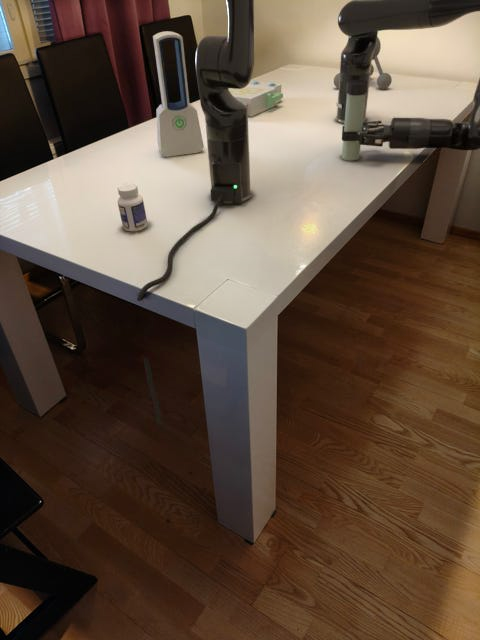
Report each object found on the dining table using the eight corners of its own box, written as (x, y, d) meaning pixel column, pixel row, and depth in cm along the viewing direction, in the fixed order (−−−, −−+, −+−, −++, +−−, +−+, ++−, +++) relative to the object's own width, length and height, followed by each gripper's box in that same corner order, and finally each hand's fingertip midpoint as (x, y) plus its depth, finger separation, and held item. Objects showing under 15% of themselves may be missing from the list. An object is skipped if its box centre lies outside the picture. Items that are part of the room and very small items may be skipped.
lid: (359, 95, 119) (360, 85, 118) (342, 93, 122) (342, 82, 120) (371, 91, 122) (372, 81, 120) (353, 88, 125) (354, 78, 123)
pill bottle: (149, 220, 107) (142, 181, 102) (146, 231, 103) (138, 191, 98) (125, 221, 107) (116, 182, 102) (121, 232, 103) (112, 193, 98)
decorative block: (245, 78, 184) (291, 83, 175) (246, 96, 188) (291, 102, 178) (203, 94, 168) (250, 100, 159) (204, 113, 172) (251, 121, 162)
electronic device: (161, 157, 138) (144, 37, 120) (158, 149, 144) (140, 33, 126) (204, 151, 141) (193, 32, 122) (199, 144, 146) (188, 28, 128)
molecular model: (320, 82, 200) (324, -5, 182) (368, 76, 205) (377, -10, 186) (347, 95, 182) (354, 0, 164) (399, 88, 187) (412, -5, 168)
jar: (353, 161, 129) (360, 87, 118) (338, 158, 132) (344, 84, 121) (362, 156, 132) (370, 83, 121) (348, 153, 135) (354, 81, 123)
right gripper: (409, 110, 129) (343, 110, 132) (414, 126, 118) (342, 126, 121) (404, 139, 133) (341, 138, 136) (409, 157, 122) (340, 156, 125)
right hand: (342, 133), depth 128 cm, fingers closed on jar, 4 cm apart
